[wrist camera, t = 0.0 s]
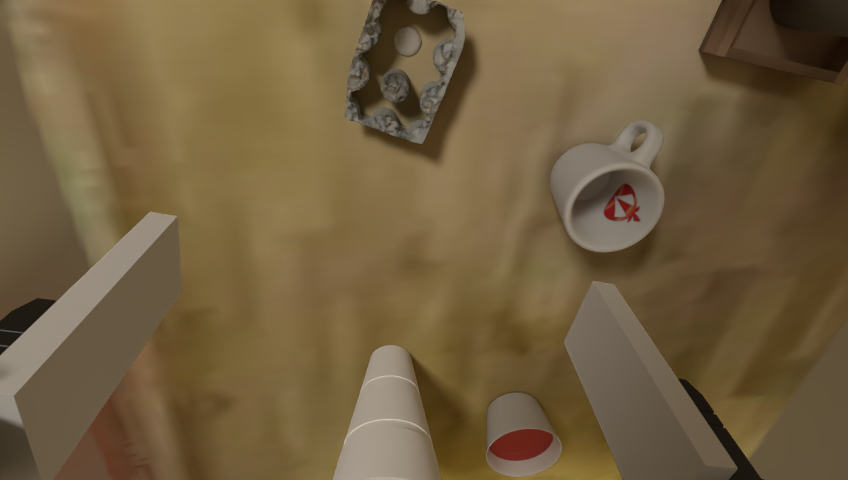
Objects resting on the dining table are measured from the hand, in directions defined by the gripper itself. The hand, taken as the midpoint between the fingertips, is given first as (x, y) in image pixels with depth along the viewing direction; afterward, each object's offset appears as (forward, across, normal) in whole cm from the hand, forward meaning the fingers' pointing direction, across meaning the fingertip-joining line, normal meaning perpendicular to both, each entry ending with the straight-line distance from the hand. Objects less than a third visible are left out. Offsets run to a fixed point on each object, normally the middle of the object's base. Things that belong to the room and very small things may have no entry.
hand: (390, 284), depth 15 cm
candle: (+28, +22, -37) cm, 51 cm away
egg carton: (+28, 0, +2) cm, 29 cm away
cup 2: (+28, +5, -31) cm, 42 cm away
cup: (+28, +19, -3) cm, 34 cm away
